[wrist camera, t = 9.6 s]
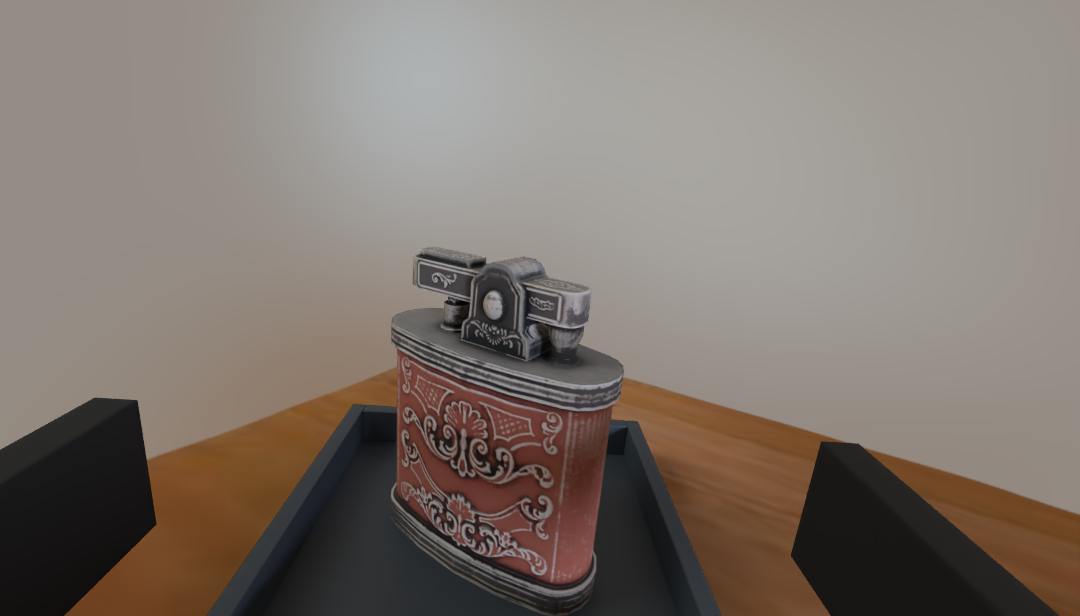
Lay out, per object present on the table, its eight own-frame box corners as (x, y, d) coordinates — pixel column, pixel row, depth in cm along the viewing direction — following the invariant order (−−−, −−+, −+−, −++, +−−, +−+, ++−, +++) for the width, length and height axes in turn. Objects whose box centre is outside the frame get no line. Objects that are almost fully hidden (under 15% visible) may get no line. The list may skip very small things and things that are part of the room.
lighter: (611, 566, 17) (655, 276, 14) (561, 641, 14) (602, 297, 11) (434, 475, 21) (442, 234, 18) (368, 518, 18) (364, 242, 15)
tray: (160, 766, 11) (148, 697, 11) (354, 442, 24) (353, 403, 23) (748, 779, 12) (766, 716, 11) (632, 457, 24) (637, 420, 24)
